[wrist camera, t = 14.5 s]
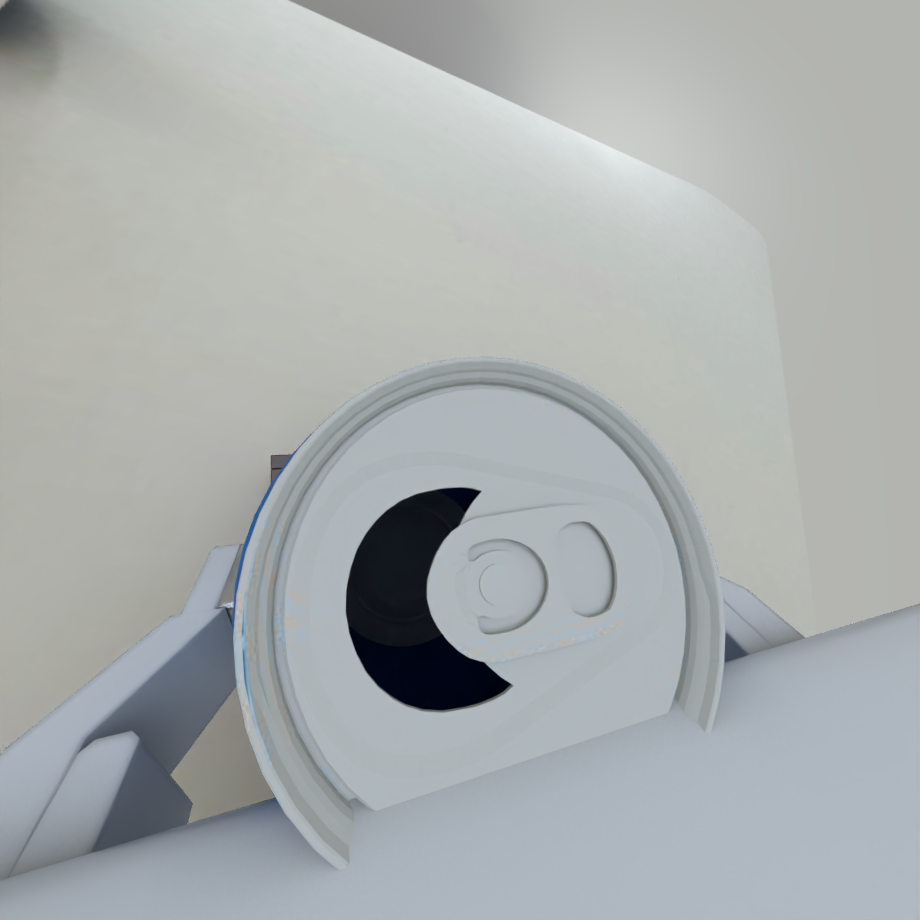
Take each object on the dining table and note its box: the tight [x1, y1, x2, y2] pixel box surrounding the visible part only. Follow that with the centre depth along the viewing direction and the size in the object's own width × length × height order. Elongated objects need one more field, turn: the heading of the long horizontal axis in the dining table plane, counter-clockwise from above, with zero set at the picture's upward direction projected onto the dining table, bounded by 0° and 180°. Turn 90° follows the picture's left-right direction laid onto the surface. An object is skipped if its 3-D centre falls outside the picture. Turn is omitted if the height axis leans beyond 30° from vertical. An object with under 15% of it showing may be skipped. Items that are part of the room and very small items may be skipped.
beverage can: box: [232, 357, 725, 870], centre depth 9 cm, size 6×6×12 cm
